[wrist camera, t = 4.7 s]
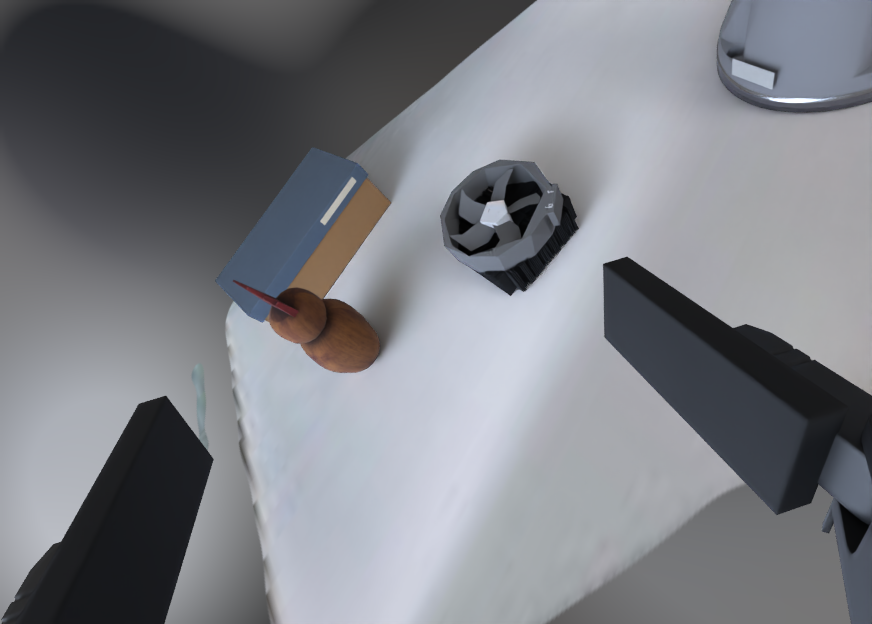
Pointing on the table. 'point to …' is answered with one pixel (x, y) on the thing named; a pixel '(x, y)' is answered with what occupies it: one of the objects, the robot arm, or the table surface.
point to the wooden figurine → (322, 328)
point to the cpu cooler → (507, 222)
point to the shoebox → (305, 233)
